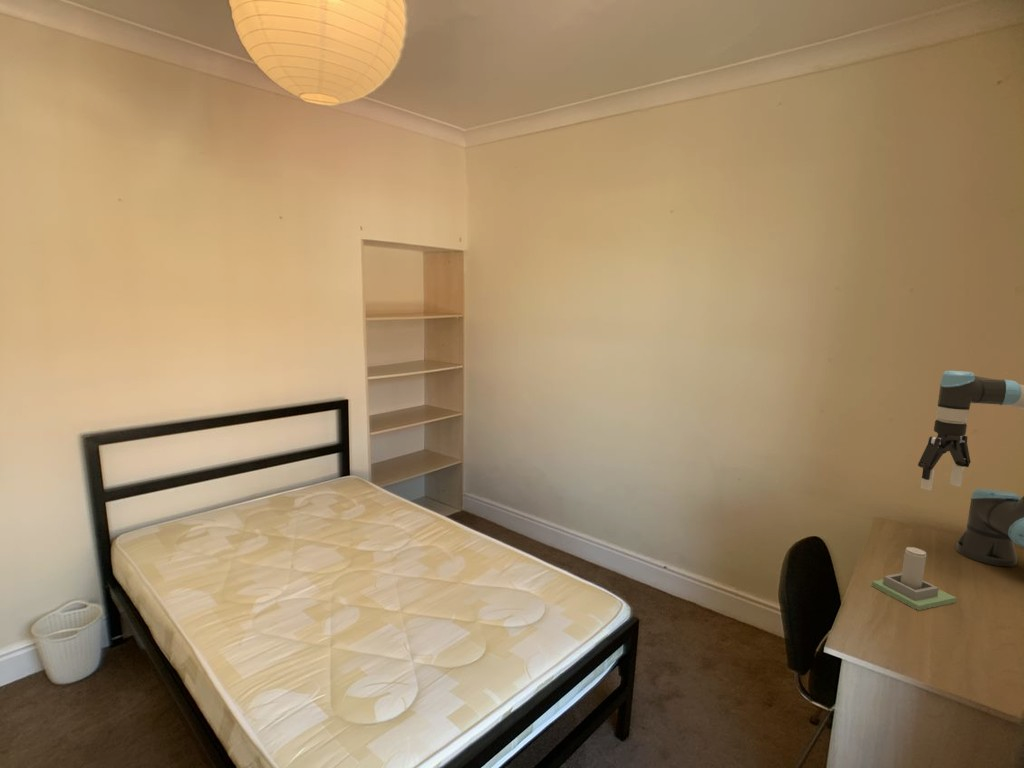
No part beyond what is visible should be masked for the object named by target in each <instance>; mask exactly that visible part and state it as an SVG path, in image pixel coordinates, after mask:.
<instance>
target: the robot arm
mask: <svg viewBox="0 0 1024 768" xmlns="http://www.w3.org/2000/svg"><path fill="white" fill-rule="evenodd" d="M971 404H984V405H998V406H1005V407H1011V408H1016V409H1021V410H1024V384H1020V383H1018V382H1017V381H1015V380H1010V379H1005V378H1004V379H1003V378H1002V379H998V378H997V379H996V378H988V377H984V376H983V377H982V376H976V375H975V373H974V372H972V371H963V370H962V371H961V370H946V371H944V372H943V373H942V377H941V380H940V383H939V393H938V400H937V407H936V413H935V415H936V416H935V418H936V419H935V422H934V426H933V431H934V432H935V433H936V434H937V436H936V437H934V436H929V438H928V440H927V441H928V442H927V445H926V447H925V448H924V451H923V453H922V455H921V457H920V459H919V461H918V462H917V466H918V467H920V468H922V474H921V483H920V486H919V487H920V489H923V490H926V491H928V492H929V491H930V492H932V490H933V489H932V488H933V483H934V476H935V470H934V468H935V466H936V465H937V463H938V462H939V460H940V459H941V458H942V457H943V455H944V454H946V453H947V452H949V453H950V455H951V458H952V460H953V462H954V464H952V468H951V475H950V482H949V485H951V486H954V487H957V488H961V487H962V483H963V478H964V477H963V476H964V470H965V468H969V466H970V464H971V457H970V452H969V446H968V436H967V435H966V434H967V433H966V432H967V426H968V425H967V423H968V421H969V413H970V410H971V409H970V407H971ZM968 510H969V511H968V515H967V516H968V517H967V524H966V528H965V531H964V532H963V533H962V535H960V537H959V538H958V540H957V541H956V542H957V543H956V548H955V550H956V551H957V552H958V553H959V554H960V555H962V556H964V557H967V558H969V559H970V560H973V561H976V562H978V563H979V562H980V563H982V562H983V564H986V563H987V565H992V566H996V567H1003V566H1012V567H1014V566H1013V565H1015V564H1016V565H1017V563H1018V556H1017V551H1016V546H1015V544H1016V545H1017V546H1020V547H1023V548H1024V495H1023V496H1021V495H1020V494H1018V493H1015V492H1012V491H1006V490H1002V489H1001V490H1000V489H993V488H992V489H991V488H976V489H974V490H973V491H972V494H971V496H970V504H969V509H968ZM1016 565H1015V566H1016Z"/></svg>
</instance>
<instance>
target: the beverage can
mask: <svg viewBox="0 0 1024 768" xmlns="http://www.w3.org/2000/svg"><path fill="white" fill-rule="evenodd" d="M926 561H927V552H926V551H925V550H923V549H921V548H918V547H912V546H907V547H906V548H905V550H904V556H903V561H902V562H903V564H902V568H901V569H902V570H901V573H902V575H901V581H900V583H902V584H904V585H906V586H908V587H910V588H912V589H914V590H918V589H921V588H922V581H924V574H925V573H924V572H925V568H926Z"/></svg>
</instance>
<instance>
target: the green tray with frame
mask: <svg viewBox="0 0 1024 768" xmlns="http://www.w3.org/2000/svg"><path fill="white" fill-rule="evenodd" d="M901 575H902V572H900V573H893V574H887V575H883V579H878V580H873V581H871V583H872V584H871V587H873V588H875V589H877V590H879V591H880V592H882V593H883V594H886V595H888V596H890V597H891V598H893V599H896V600H897V601H899V602H901V601H902V602H901V603H903V602H904V603H905V605H906V604H907V605H906V606H908V605H909V606H908V607H910V606H911V607H910V608H912V607H913V608H912V609H914V608H915V609H914V610H916V609H917V610H916V611H918V610H920V611H923V610H922V609H924V610H928V609H927V608H929V609H932V608H931V607H933V608H936V607H937V606H938V607H942V606H947V605H950V604H951V605H952V604H955V603H956V602H957V597H956V596H954V595H951V594H949V593H948V592H945V591H944V590H942V589H940V587H938V586H935V585H934V584H932V583H930V582H927V581H925V580H923V581H922V588H921V589H918V590H914V589H912V588H910V587H908V586H906V585H904V584H902V583H900V581H901ZM904 603H903V604H904Z"/></svg>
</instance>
